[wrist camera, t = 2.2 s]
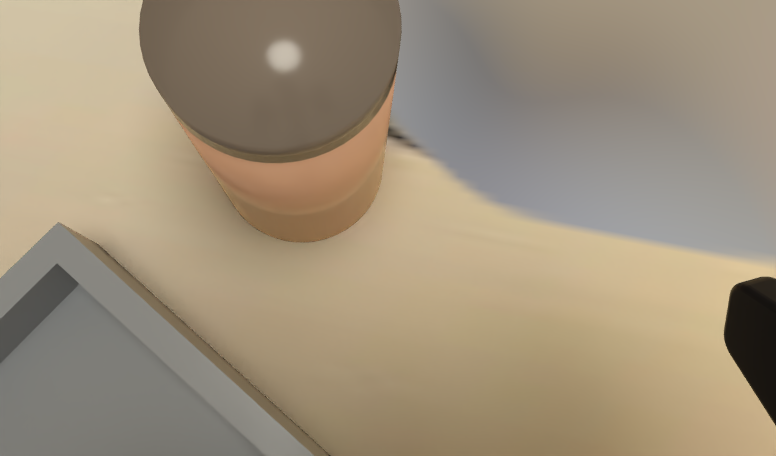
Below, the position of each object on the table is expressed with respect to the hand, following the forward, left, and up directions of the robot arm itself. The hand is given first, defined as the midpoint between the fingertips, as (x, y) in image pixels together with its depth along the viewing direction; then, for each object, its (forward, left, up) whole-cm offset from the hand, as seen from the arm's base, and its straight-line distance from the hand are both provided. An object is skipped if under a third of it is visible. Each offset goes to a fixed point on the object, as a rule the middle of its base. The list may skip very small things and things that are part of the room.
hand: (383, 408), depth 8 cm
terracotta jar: (+4, +6, -13) cm, 15 cm away
